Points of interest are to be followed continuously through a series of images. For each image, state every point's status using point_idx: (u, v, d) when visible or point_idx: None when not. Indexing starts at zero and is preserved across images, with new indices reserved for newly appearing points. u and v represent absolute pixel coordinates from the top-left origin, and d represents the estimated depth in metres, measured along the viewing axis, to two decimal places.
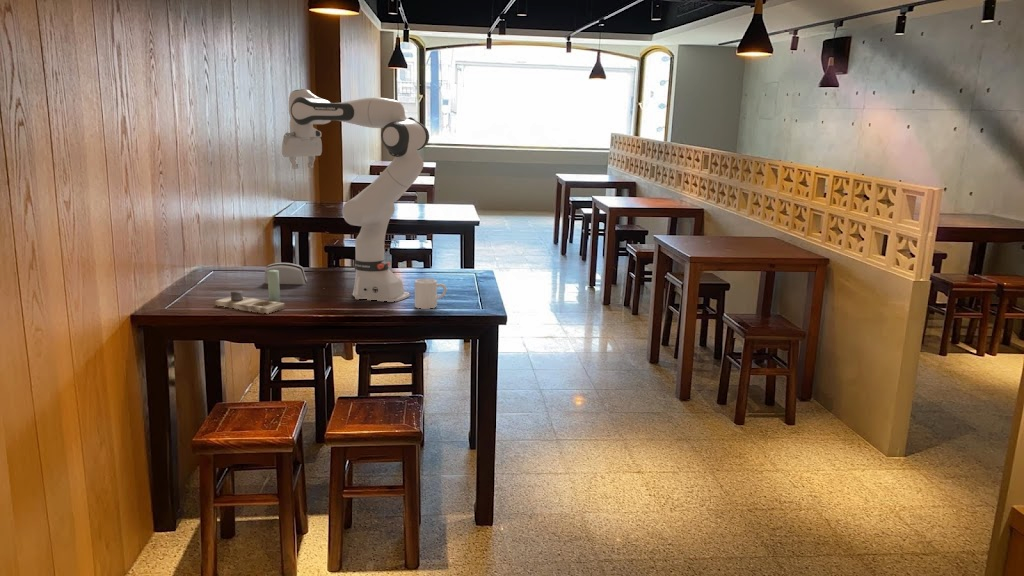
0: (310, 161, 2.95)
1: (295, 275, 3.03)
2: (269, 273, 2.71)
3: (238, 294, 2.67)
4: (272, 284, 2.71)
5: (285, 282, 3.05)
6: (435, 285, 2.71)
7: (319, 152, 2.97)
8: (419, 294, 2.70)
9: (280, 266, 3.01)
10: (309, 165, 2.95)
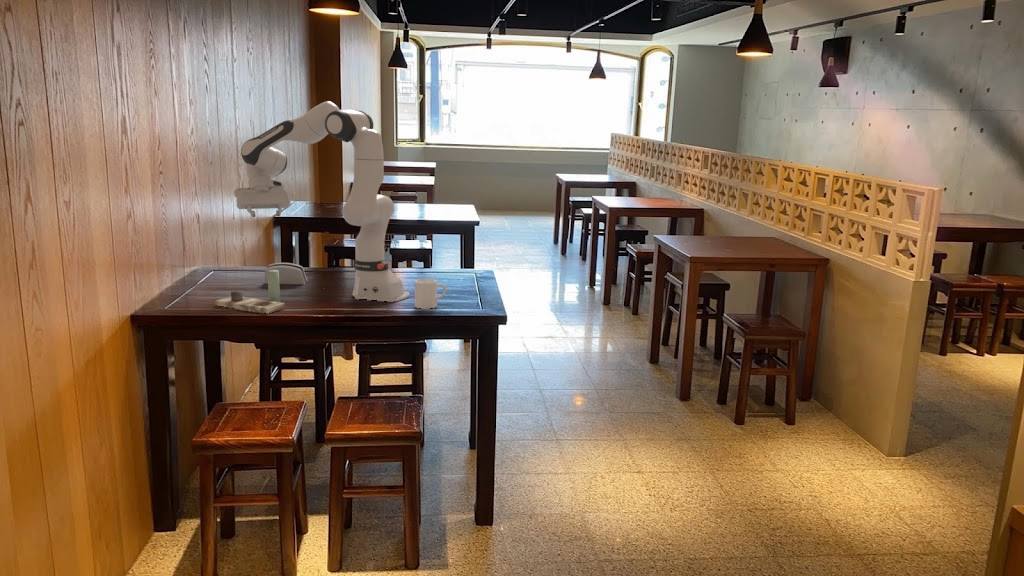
0: None
1: (295, 275, 3.03)
2: (269, 273, 2.71)
3: (238, 294, 2.67)
4: (272, 284, 2.71)
5: (285, 282, 3.05)
6: (435, 285, 2.71)
7: (286, 200, 2.93)
8: (419, 294, 2.70)
9: (280, 266, 3.01)
10: (276, 213, 2.90)
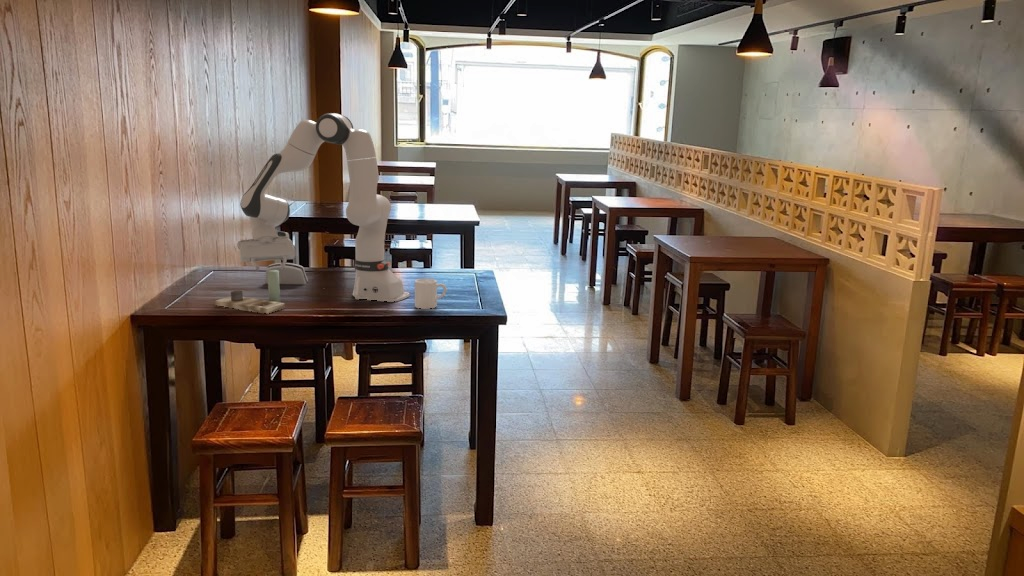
0: (283, 262, 2.81)
1: (296, 275, 3.03)
2: (269, 273, 2.71)
3: (238, 294, 2.67)
4: (272, 284, 2.71)
5: (286, 282, 3.05)
6: (435, 285, 2.71)
7: (290, 251, 2.83)
8: (419, 294, 2.70)
9: None
10: (281, 266, 2.80)
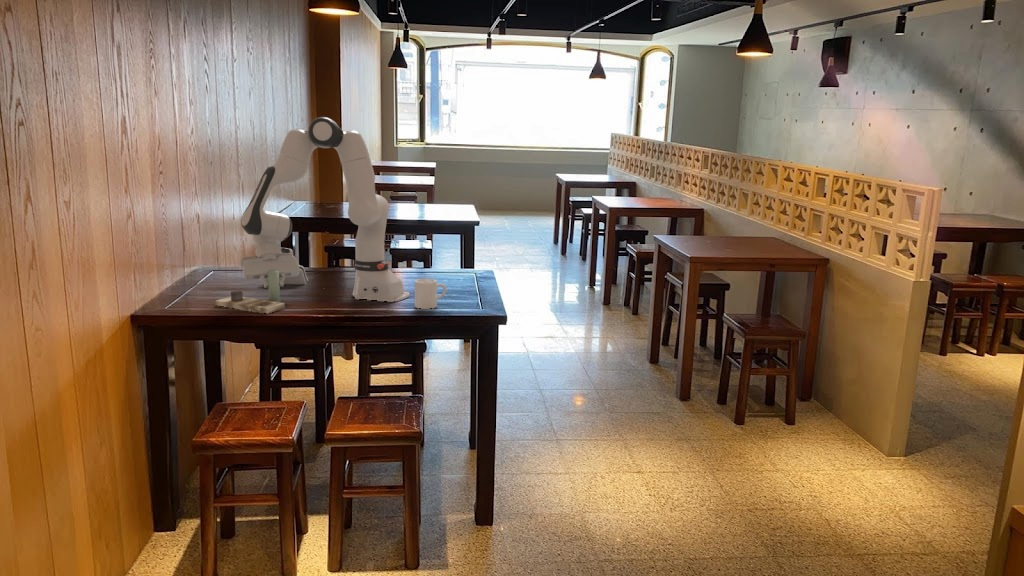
0: None
1: None
2: (269, 273, 2.71)
3: (238, 294, 2.67)
4: (272, 284, 2.71)
5: (286, 282, 3.05)
6: (435, 285, 2.71)
7: (294, 268, 2.78)
8: (419, 294, 2.70)
9: None
10: (279, 283, 2.74)
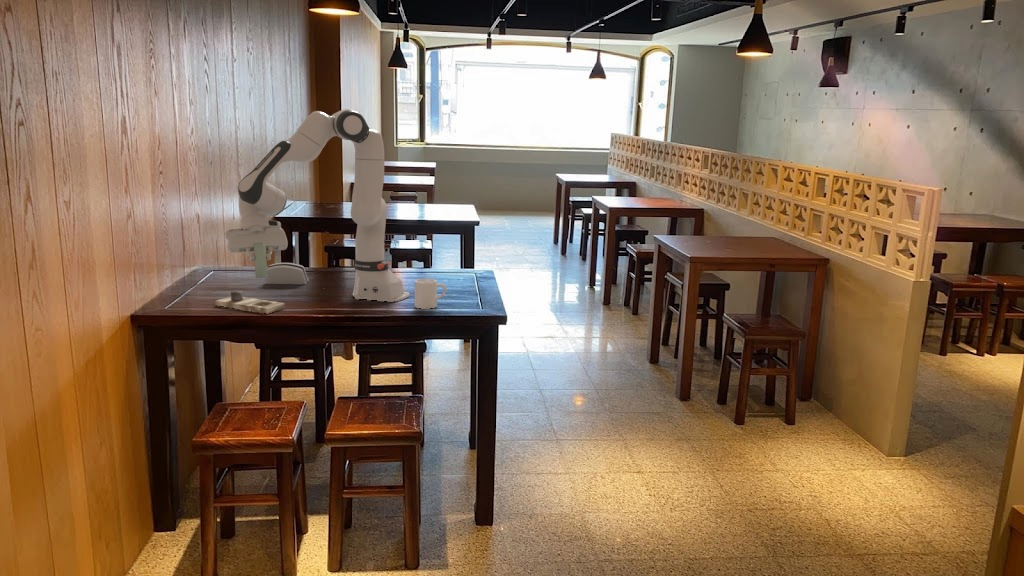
0: None
1: (297, 275, 3.03)
2: (255, 246, 2.58)
3: (238, 294, 2.67)
4: (259, 257, 2.59)
5: (286, 282, 3.05)
6: (435, 285, 2.71)
7: (282, 241, 2.65)
8: (419, 294, 2.70)
9: (282, 266, 3.01)
10: (266, 257, 2.62)
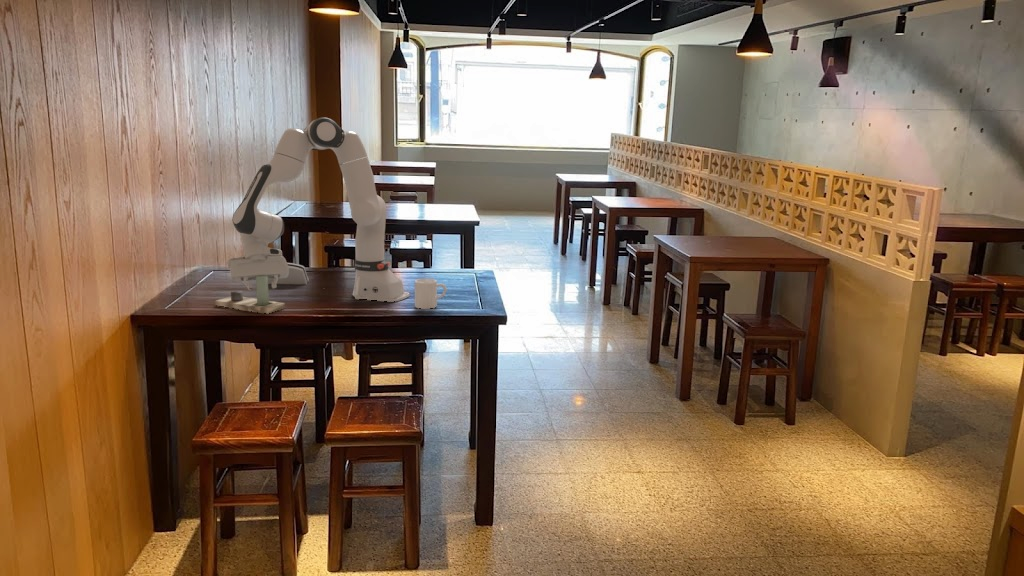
0: (274, 282, 2.66)
1: (297, 275, 3.03)
2: (257, 279, 2.61)
3: (238, 294, 2.67)
4: (261, 290, 2.62)
5: (287, 282, 3.05)
6: (435, 285, 2.71)
7: (284, 270, 2.68)
8: (419, 294, 2.70)
9: None
10: (272, 285, 2.65)
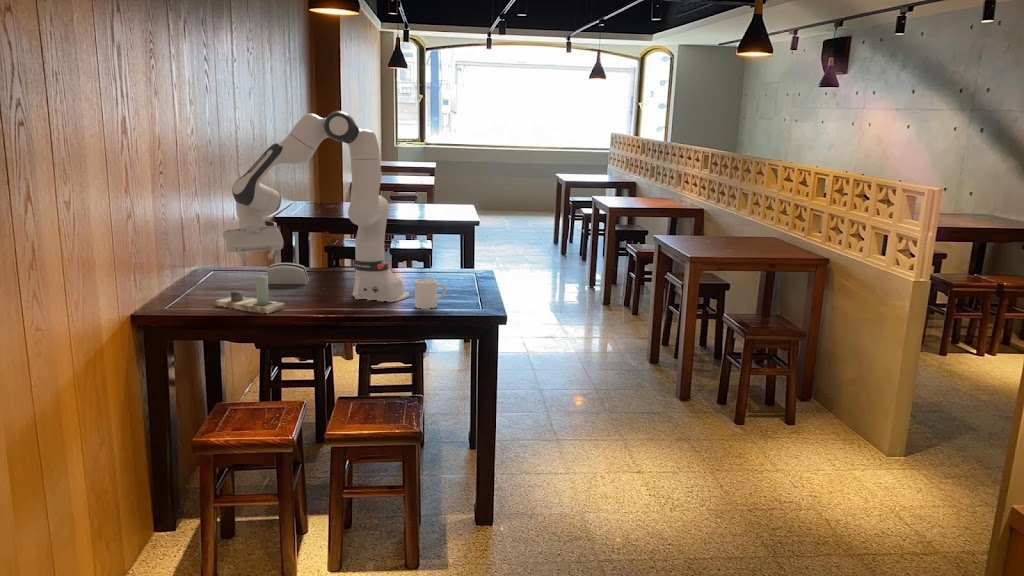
0: (270, 253, 2.72)
1: (298, 275, 3.03)
2: (257, 279, 2.61)
3: (238, 294, 2.67)
4: (261, 290, 2.62)
5: (287, 282, 3.05)
6: (435, 285, 2.71)
7: (278, 241, 2.74)
8: (419, 294, 2.70)
9: (283, 266, 3.01)
10: (268, 256, 2.71)
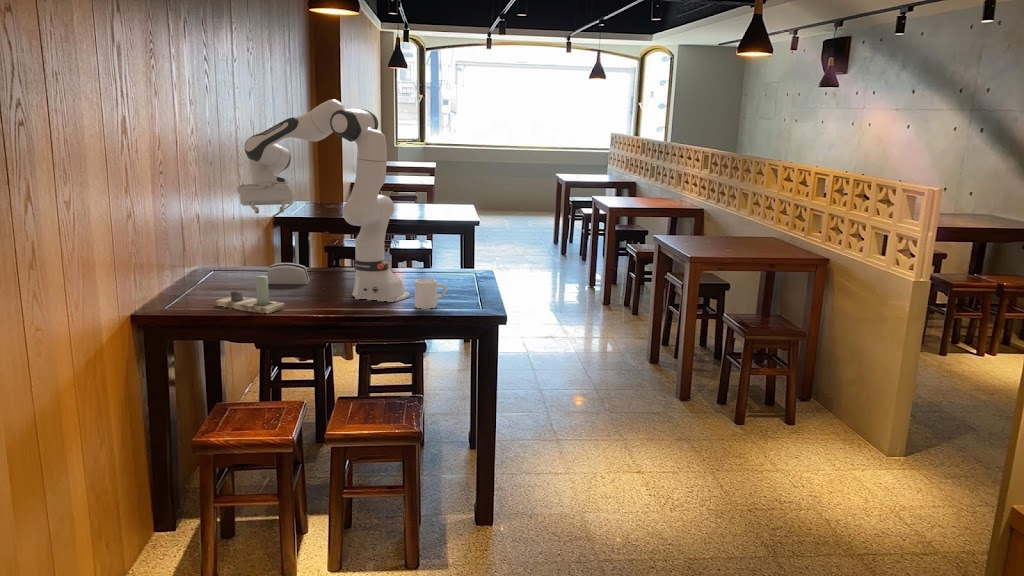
0: (282, 207, 2.90)
1: (298, 275, 3.03)
2: (257, 279, 2.61)
3: (238, 294, 2.67)
4: (261, 290, 2.62)
5: (288, 282, 3.05)
6: (435, 285, 2.71)
7: (289, 196, 2.91)
8: (419, 294, 2.70)
9: (283, 266, 3.01)
10: (280, 209, 2.89)
